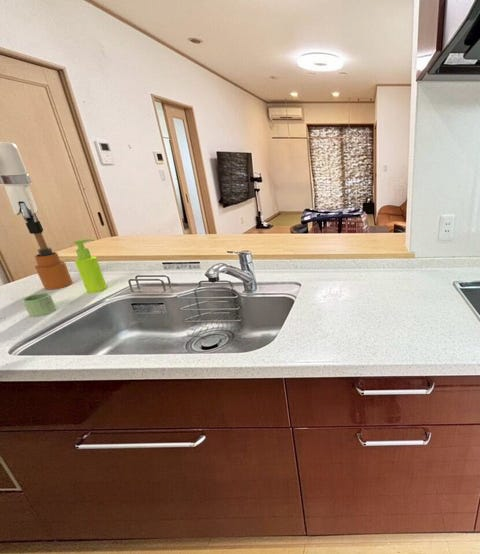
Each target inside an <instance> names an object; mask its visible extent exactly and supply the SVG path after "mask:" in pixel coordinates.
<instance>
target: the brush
mask: <svg viewBox="0 0 480 554" xmlns="http://www.w3.org/2000/svg"><path fill="white" fill-rule="evenodd" d="M33 235H34V238H35V240H36V242H37V244H38V245H37V246H38V247H39V248H37V252H38V254H40V257H41V256H49V255H53V252H54V251H53V249H52V247H49V246H48V245H47V242H46V239H45V238H44V236H43V232H42V233H35V234H33Z"/></svg>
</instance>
